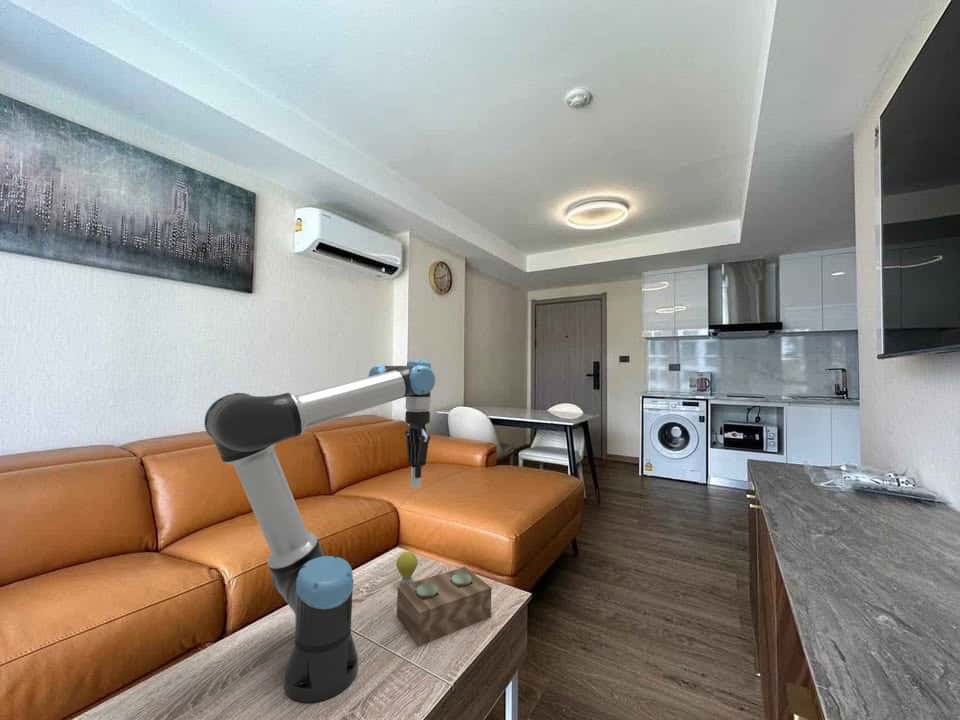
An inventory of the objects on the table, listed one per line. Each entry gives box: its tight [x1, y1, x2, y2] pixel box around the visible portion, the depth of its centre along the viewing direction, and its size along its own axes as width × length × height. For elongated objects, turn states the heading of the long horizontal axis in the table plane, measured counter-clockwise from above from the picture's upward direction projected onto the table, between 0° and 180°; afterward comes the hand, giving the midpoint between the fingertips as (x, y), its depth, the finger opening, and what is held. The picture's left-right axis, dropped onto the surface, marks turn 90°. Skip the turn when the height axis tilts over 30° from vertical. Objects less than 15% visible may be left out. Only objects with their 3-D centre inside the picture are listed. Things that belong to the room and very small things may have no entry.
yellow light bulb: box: [395, 551, 419, 586], centre depth 125 cm, size 7×7×10 cm
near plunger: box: [416, 583, 437, 600], centre depth 105 cm, size 6×6×8 cm
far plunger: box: [452, 573, 471, 588], centre depth 112 cm, size 6×6×8 cm
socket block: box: [396, 566, 492, 647], centre depth 109 cm, size 22×14×8 cm, turn 124°
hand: (415, 487), depth 120 cm, fingers closed
